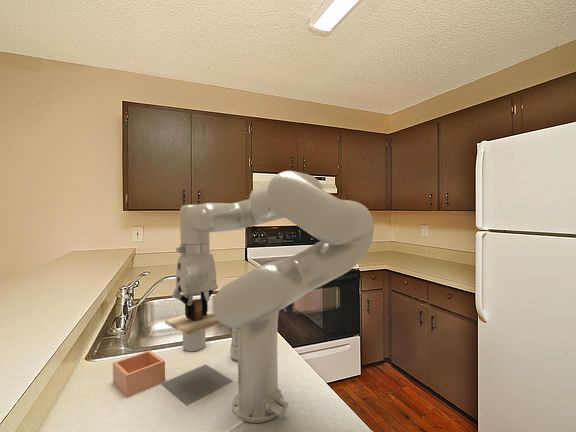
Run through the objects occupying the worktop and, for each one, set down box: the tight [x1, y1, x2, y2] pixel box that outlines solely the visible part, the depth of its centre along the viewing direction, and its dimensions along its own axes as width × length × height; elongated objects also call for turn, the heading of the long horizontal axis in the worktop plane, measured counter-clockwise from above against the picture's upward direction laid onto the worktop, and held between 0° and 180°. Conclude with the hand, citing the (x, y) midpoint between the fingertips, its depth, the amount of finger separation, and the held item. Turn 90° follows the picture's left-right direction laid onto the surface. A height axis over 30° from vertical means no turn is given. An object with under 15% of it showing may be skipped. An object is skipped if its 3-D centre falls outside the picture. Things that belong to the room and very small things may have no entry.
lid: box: [164, 298, 222, 335], centre depth 83 cm, size 12×12×6 cm
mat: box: [160, 364, 234, 406], centre depth 83 cm, size 14×14×1 cm
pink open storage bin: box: [112, 350, 166, 398], centre depth 84 cm, size 10×10×6 cm
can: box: [182, 329, 206, 352], centre depth 105 cm, size 8×8×12 cm
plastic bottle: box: [229, 328, 239, 362], centre depth 97 cm, size 6×7×20 cm
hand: (196, 316), depth 83 cm, fingers closed on lid, 3 cm apart
